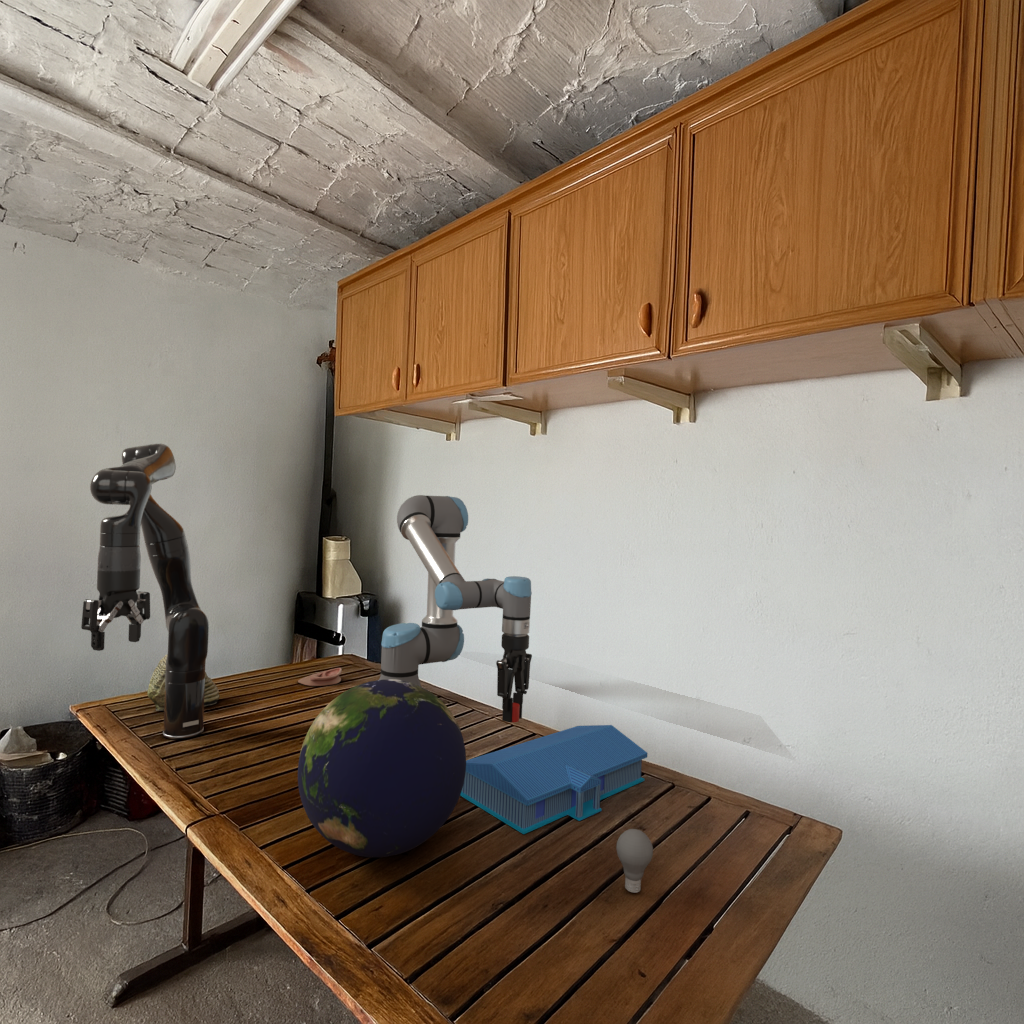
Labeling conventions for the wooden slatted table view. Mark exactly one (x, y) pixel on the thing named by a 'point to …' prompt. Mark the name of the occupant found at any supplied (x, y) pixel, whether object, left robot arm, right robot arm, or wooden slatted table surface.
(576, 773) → the model building
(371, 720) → the globe
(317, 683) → the anatomical model
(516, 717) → the canister
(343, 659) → the wooden slatted table surface
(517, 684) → the right robot arm
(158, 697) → the fossil
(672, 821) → the wooden slatted table surface
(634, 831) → the light bulb
